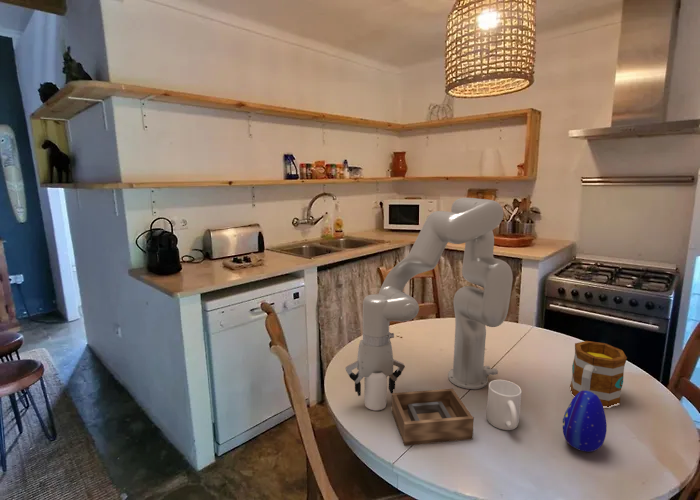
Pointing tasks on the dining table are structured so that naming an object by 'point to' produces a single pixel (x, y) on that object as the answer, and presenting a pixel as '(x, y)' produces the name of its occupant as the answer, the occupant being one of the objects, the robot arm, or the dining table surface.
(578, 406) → the ornament
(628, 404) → the dining table surface
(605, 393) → the mug
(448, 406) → the bin
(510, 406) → the mug
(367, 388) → the can
